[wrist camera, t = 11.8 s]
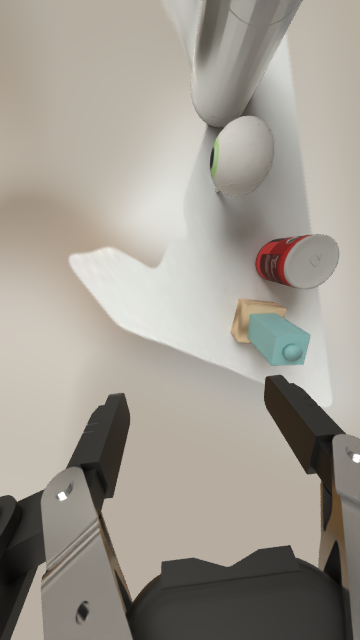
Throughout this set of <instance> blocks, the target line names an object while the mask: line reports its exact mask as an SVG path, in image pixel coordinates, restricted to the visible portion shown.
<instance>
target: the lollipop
mask: <svg viewBox="0 0 360 640" xmlns="http://www.w3.org/2000/svg"><path fill="white" fill-rule="evenodd" d="M273 155H274V141H273V137H272V133H271V131H270V129H269V127H268V125H267V124H266V123H265V122H264V121H263V120H261V119H259V118H257V117H255V116H243V117H239V118H237V119H235V120H233V121H232V122H230V123H229V124H227V125H226V127H225V128H224V129H223V130H222V131H221V132H220V134H219V135H218V137H217V139H216V141H215V143H214V146H213V149H212V152H211V158H210V171H211V176H212V179H213V182H214V184H215V186H216V187H217V188H216V189H215V192H216V193H217V192H219V191H221V192H222V193H224V194H226V195H229V196H242V195H245V194H247V193H249V192H251V191H253V190H254V189H255V188H256V187H258V186H259V184H260V183H261V182H262V181H263V180H264V178H265V177H266V175H267V173H268V171H269V169H270V167H271V164H272V161H273Z"/></svg>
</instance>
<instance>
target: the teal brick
mask: <svg viewBox="0 0 360 640" xmlns="http://www.w3.org/2000/svg"><path fill="white" fill-rule="evenodd" d="M247 337H248V339H249V340H250V341H251V342H252V343H253V345H254V346H255V347H256V348H257V349H258V351H259V352H260V353H261V354H262V355H263V357H264V358H265V359H266V360H267V361H268V362H269V364H270V365H271V366H273V365H302V364H304V360H305V356H306V352H307V348H308V344H309V339H310V334H308V333H307V332H305V331H303V330H302V329H300V328H299V327H297V326H295V325H294V324H292V323H290V322H289V321H287V320H286V319H284V318H282V317H281V316H279V315H278V314H276V313H265V314H250V318H249V327H248V336H247Z"/></svg>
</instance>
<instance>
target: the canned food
mask: <svg viewBox="0 0 360 640" xmlns="http://www.w3.org/2000/svg"><path fill="white" fill-rule="evenodd" d="M338 260H339V248H338V245H337V243H336V242H335V241H334V239H333V238H331V237H329V236H327V235H321V234H320V235H319V234H316V235H306V236H298V237H290V238H282V239H275V240H272V241H271V242H269V243H267V244H266V245H265V246H264V247H263V248H262V249H261V250H260V252H259V253H258V255H257V259H256V269H257V271H258V273H259V274H260V275H261V276H262V277H263V278H264V279H267V280H270V281H274V282H277V283H281V284H284V285H287V286H291V287H294V288H298V289H311V288H314V287H317V286H319V285H321V284H322V283H323V282H325V281H326V280H327V279H328V278H329V277H330V276H331V275H332V273H333V272H334V270H335V268H336V266H337V264H338Z"/></svg>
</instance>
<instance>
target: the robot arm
mask: <svg viewBox="0 0 360 640" xmlns="http://www.w3.org/2000/svg"><path fill="white" fill-rule="evenodd" d="M302 1H303V0H201V5H200V13H199V21H198V29H197V37H196V45H195V52H194V60H193V69H192V77H191V97H192V101H193V105H194V107H195V110H196V112H197V113H198V115H199V116H200V118H201V119H202V120H203V121H204V122H206V123H207V124H209V125H211V126H214V127H225V126H226V125H227V124H229V123H230V122H232V121H233V120H235V119H237V118H239V117H240V116H241V114H242V113H243V112H244V110H245V108H246V106H247V104H248V102H249V100H250V99H251V97H252V95H253V93H254V91H255V89H256V88H257V86H258V84H259V82H260V80H261V78H262V76H263V74H264V72H265V71H266V69H267V67H268V65H269V63H270V61H271V59H272V57H273V55H274V54H275V52H276V50H277V48H278V46H279V44H280V42H281V40H282V38H283V36H284V35H285V33H286V31H287V29H288V27H289V25H290V23H291V21H292V19H293V18H294V16H295V14H296V12H297V10H298V8H299V6H300V4H301V2H302ZM264 401H265V405H266V408H267V410H268V411H269V413H270V415H271V416H272V418H273V419H274V421H275V423H276V424H277V426H278V427H279V429H280V431H281V433H282V434H283V436H284V437H285V439H286V441H287V442H288V444H289V446H290V447H291V449H292V450H293V452H294V454H295V456H296V457H297V459H298V460H299V462H300V464H301V465H302V467H303V468H304V470H305V472H306V473H307V474H315V473H317V474H318V476H319V477H320V479H321V484H320V490H321V542H320V549H319V563H318V568H317V567H315V566H314V565H312V564H310V563H308V562H306V561H303V560H301V559H299V558H295V556H294V553H293V551H292V548H291V546H290V545H288V546H280V547H273V548H265V549H258V550H257V551H255V552H254V553H252V554H250V555H249V556H247V557H246V558H244V559H242V560H241V561H239V562H237V563H236V564H234V565H233V566H230V567H225V566H221V565H217V564H214V563H210V562H207V561H203V560H199V559H196V558H188V559H180V560H172V561H164V562H162V566H161V574H160V575H158V576H157V577H155V578H154V579H153V580H152V581H150V582H149V583H148V584H147V585H146V586H145V587H144V588H143V590H142V591H141V592H140V593H139V594H138V596H137V597H136V599H135V600H134V601H132V598H131V596H130V592H129V589H128V587H127V584H126V581H125V578H124V576H123V573H122V571H121V568H120V566H119V563H118V560H117V557H116V554H115V551H114V548H113V545H112V543H111V539H110V536H109V533H108V530H107V527H106V524H105V521H104V518H103V515H102V512H101V509H102V505H103V502H104V499H106V498H113V495H114V491H115V487H116V482H117V478H118V473H119V469H120V465H121V460H122V456H123V452H124V447H125V443H126V439H127V434H128V430H129V426H130V413H129V409H128V405H127V401H126V398H125V394H124V393H118V394H110V395H109V396H108V398H107V400H106V403H105V405H101V406H99V407H98V408H97V409H96V410H95V411H94V412H93V413H92V415H91V417H90V419H89V421H88V425H87V426H86V428H85V430H84V433H83V434H82V436H81V438H80V440H79V442H78V445H77V447H76V449H75V451H74V453H73V455H72V457H71V459H70V461H69V463H68V466H67V467H66V469H65V470H63V471H62V472H60V473H59V474H57V475H56V476H55V477H54V478H53V479H52V480H51V481H50V482H49V484H48V485H47V487H46V488H45V489H44V490H42V491H40V492H38V493H35V494H33V495H31V496H29V497H27V498H25V499H22V500H20V501H18V502H17V501H16V500H15V498H13V497H12V496H10V495H6V496H2V497H0V640H10V639H11V636H12V634H13V631H14V628H15V626H16V623H17V621H18V618H19V615H20V613H21V610H22V607H23V605H24V602H25V599H26V597H27V594H28V592H29V589H30V586H31V584H32V581H33V578H34V576H35V573H36V571H37V568H38V566H39V565H40V564H42V563H44V562H46V573H45V574H44V575H43V577H42V581H41V600H42V613H43V614H42V615H43V629H44V640H360V439H359V438H356V437H354V436H351V435H347V434H346V433H345V432H344V431H343V430H342V429H341V428H340V427H339V426H338V425H337V424H336V423H335V422H334V421H333V420H332V419H331V418H330V417H329V416H328V415H327V414H326V413H325V411H324V410H323V409H322V408H321V407H320V406H318V405H317V403H316V402H315V401H314V400H313V399H311V397H310V396H309V395H308V394H307V393H306V392H305V391H304V390H303V389H302V388H300V387H299V386H297V385H295V384H294V383H290V384H289V382H288V381H287V380H286V379H285V378H284V377H283V376H282V375H274V376H267V377H266V379H265V391H264Z"/></svg>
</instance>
